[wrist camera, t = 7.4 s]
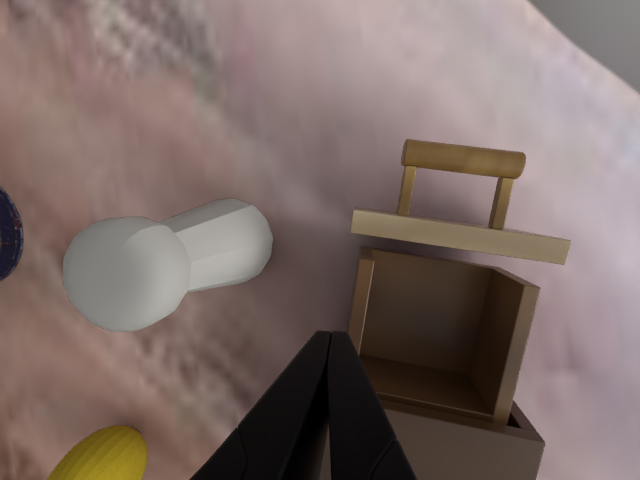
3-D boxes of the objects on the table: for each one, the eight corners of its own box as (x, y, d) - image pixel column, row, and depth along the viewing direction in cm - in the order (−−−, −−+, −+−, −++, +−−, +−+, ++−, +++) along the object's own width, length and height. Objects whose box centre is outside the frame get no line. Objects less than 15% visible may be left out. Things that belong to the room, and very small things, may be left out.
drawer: (364, 144, 21) (365, 126, 15) (532, 164, 19) (594, 152, 14) (333, 351, 23) (324, 396, 18) (482, 380, 22) (521, 438, 16)
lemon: (105, 453, 28) (3, 554, 20) (112, 396, 27) (8, 478, 19) (163, 471, 27) (82, 583, 19) (172, 414, 26) (91, 506, 18)
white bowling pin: (291, 263, 23) (205, 342, 10) (222, 284, 24) (65, 379, 11) (266, 187, 23) (143, 172, 10) (196, 211, 24) (2, 226, 11)
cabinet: (327, 336, 24) (313, 393, 17) (488, 366, 22) (546, 442, 15) (307, 471, 25) (286, 575, 18) (456, 507, 24) (495, 633, 17)
